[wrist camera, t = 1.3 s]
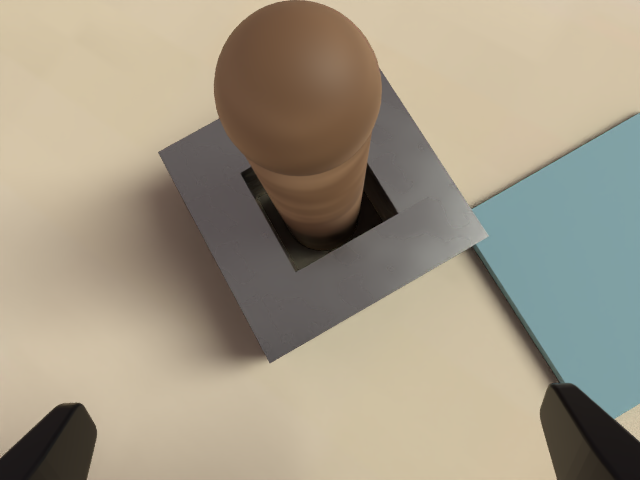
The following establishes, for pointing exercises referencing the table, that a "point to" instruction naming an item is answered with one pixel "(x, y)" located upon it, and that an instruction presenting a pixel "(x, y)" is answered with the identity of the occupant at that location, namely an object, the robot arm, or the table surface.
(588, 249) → the blue square plate
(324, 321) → the block
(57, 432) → the robot arm
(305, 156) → the brown wooden pin
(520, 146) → the table surface
